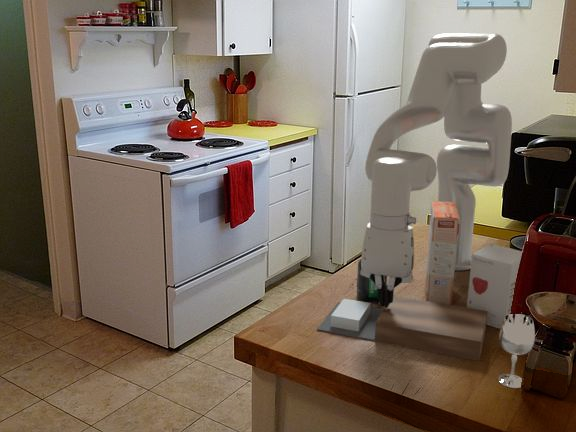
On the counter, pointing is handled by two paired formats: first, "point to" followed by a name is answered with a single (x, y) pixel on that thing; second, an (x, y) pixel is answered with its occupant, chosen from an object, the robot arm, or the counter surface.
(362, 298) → the supplement bottle
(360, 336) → the mat
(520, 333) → the wineglass
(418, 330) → the brown wooden block
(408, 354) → the counter surface
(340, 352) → the counter surface
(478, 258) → the supplement box
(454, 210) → the cracker box
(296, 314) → the counter surface
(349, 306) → the tile
